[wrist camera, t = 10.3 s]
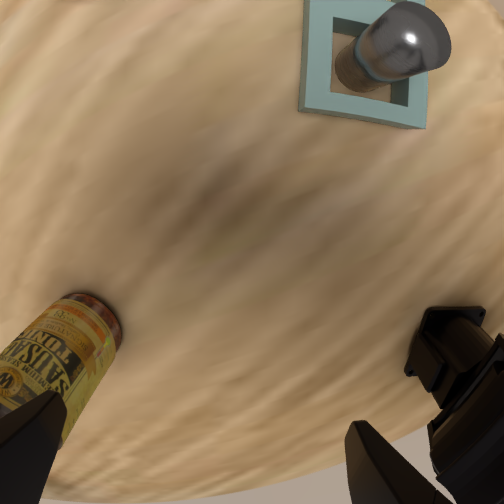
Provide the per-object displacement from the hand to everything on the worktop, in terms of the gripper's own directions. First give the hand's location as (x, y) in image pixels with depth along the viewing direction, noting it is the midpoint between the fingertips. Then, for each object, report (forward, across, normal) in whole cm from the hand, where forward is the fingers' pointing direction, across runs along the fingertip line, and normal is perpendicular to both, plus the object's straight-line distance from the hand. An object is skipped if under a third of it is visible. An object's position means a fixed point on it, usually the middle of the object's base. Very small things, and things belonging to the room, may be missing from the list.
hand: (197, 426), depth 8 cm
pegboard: (+13, -7, -16) cm, 22 cm away
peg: (+13, -7, -13) cm, 20 cm away
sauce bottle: (+13, +11, +6) cm, 18 cm away
